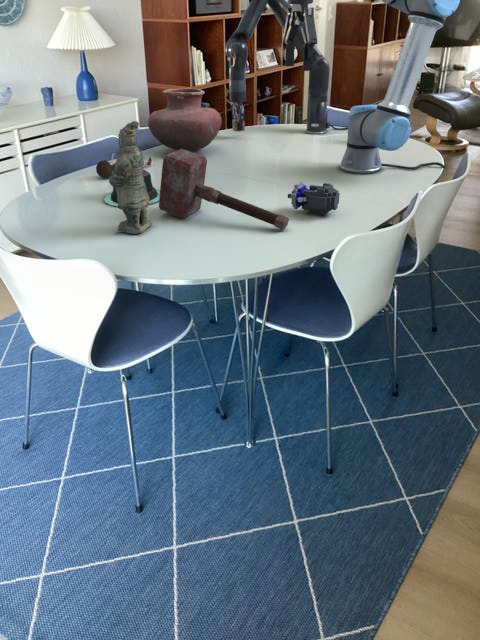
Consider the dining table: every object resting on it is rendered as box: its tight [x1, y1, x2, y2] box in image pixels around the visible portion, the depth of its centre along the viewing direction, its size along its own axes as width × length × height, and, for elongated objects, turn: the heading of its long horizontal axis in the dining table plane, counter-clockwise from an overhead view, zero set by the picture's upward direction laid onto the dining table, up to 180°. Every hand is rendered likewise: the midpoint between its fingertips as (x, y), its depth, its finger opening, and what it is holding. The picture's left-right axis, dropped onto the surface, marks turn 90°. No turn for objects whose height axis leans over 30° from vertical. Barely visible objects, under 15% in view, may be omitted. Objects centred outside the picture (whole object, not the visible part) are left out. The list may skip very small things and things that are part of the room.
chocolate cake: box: [103, 168, 160, 207], centre depth 186 cm, size 15×19×20 cm
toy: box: [287, 180, 341, 216], centre depth 168 cm, size 9×9×15 cm
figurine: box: [95, 153, 153, 179], centre depth 214 cm, size 13×8×25 cm
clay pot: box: [147, 87, 223, 153], centre depth 235 cm, size 30×30×25 cm
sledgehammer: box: [158, 149, 290, 231], centre depth 163 cm, size 17×10×40 cm
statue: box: [108, 120, 153, 235], centre depth 154 cm, size 11×9×30 cm
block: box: [231, 118, 246, 133], centre depth 258 cm, size 5×4×5 cm
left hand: (238, 129), depth 259 cm, fingers closed on block, 4 cm apart
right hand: (298, 68), depth 171 cm, fingers open, 13 cm apart
